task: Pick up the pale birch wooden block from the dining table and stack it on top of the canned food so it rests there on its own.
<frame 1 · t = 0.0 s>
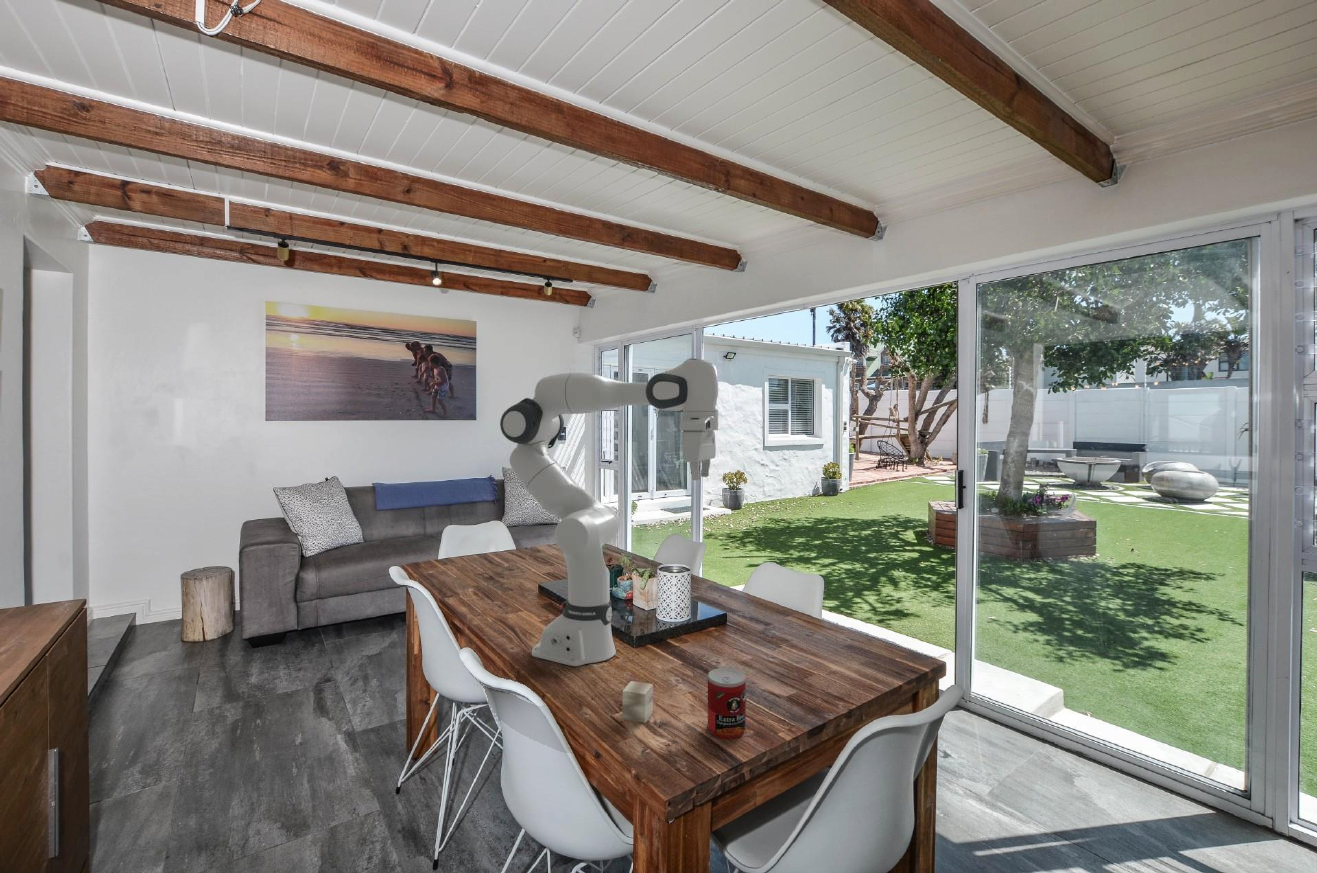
hand: (700, 478, 149), 48 cm above the table, tool pointing down, fingers open, 8 cm apart
canned food: (726, 730, 120), on the table
birch block: (638, 715, 126), on the table
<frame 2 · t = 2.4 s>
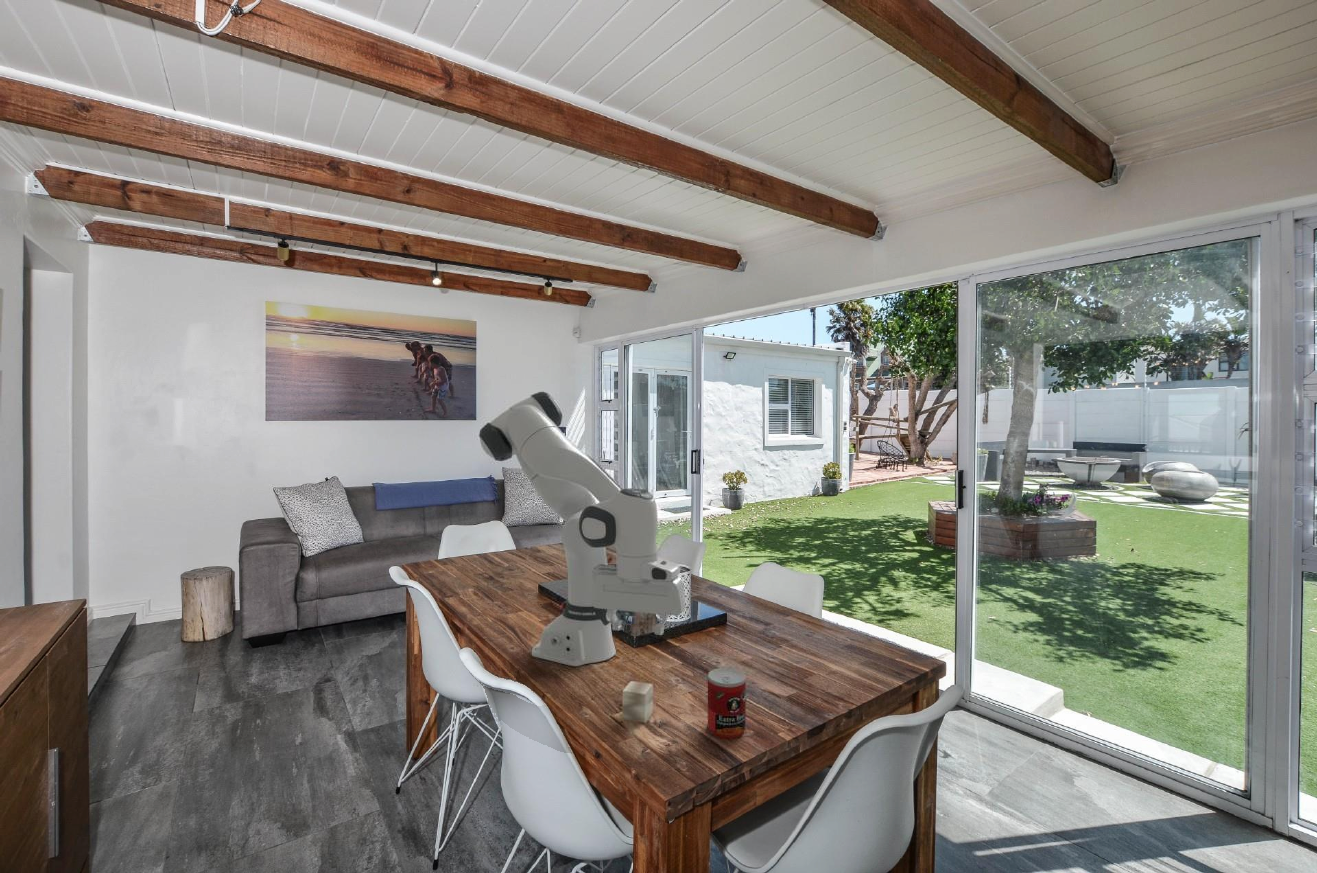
hand: (637, 631, 125), 18 cm above the table, tool pointing down, fingers open, 8 cm apart
nothing on the table moved.
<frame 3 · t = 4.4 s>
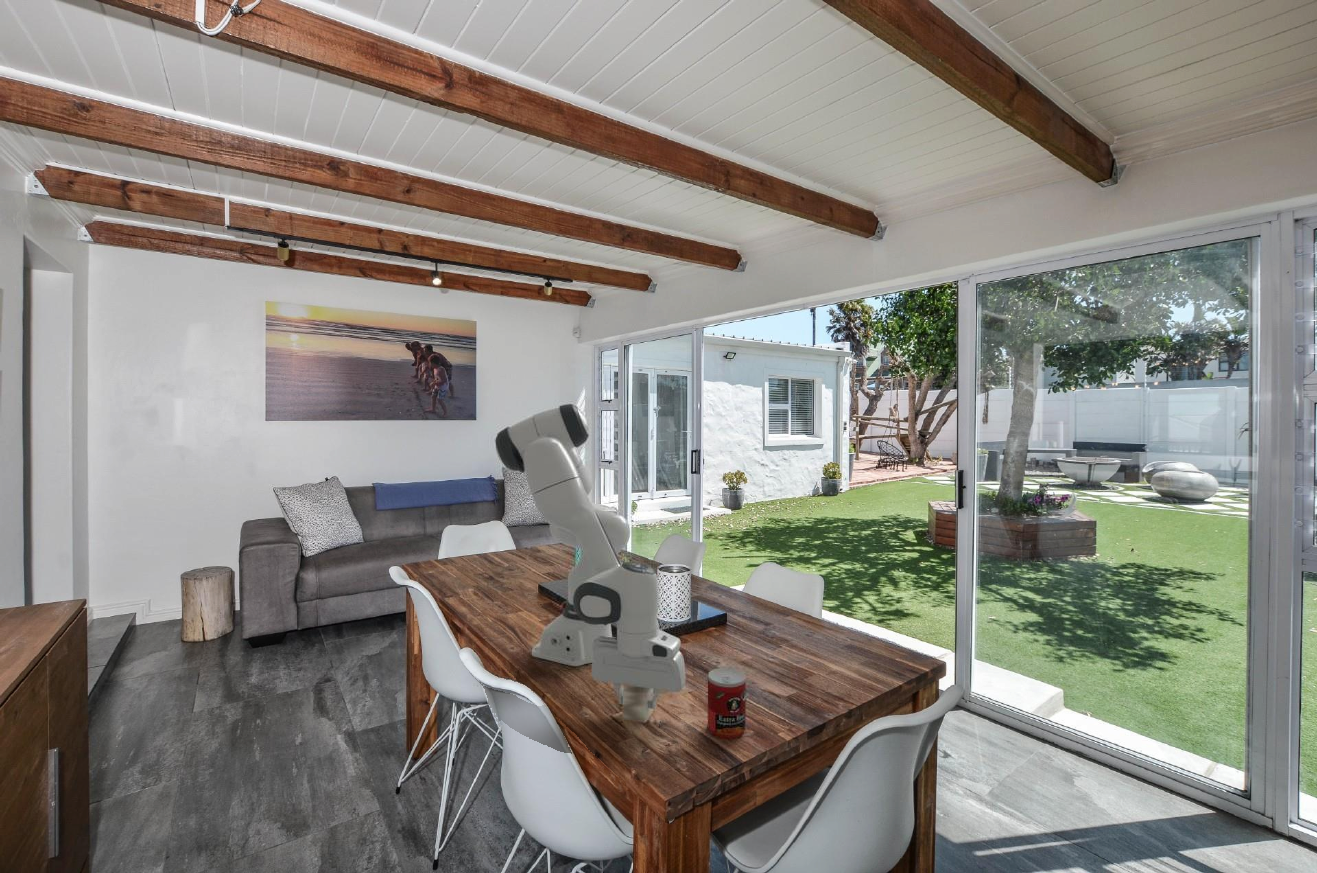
hand: (637, 705, 126), 2 cm above the table, tool pointing down, fingers closed on birch block, 5 cm apart
birch block: (638, 715, 126), on the table, touching gripper
everything else where it was.
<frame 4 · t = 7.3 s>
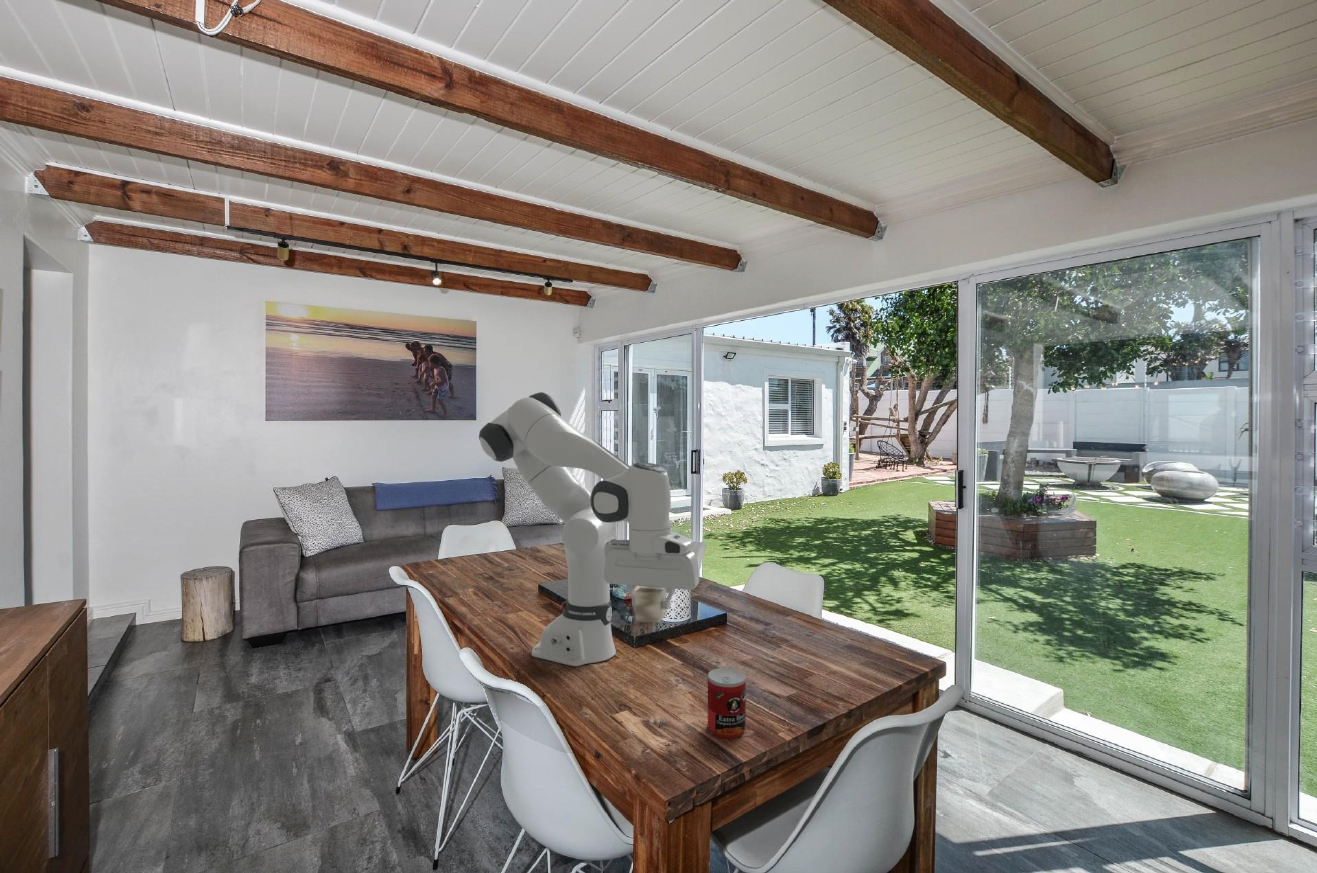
hand: (651, 607, 124), 23 cm above the table, tool pointing down, fingers closed on birch block, 5 cm apart
birch block: (651, 617, 124), point 21 cm above the table, touching gripper
everything else where it was.
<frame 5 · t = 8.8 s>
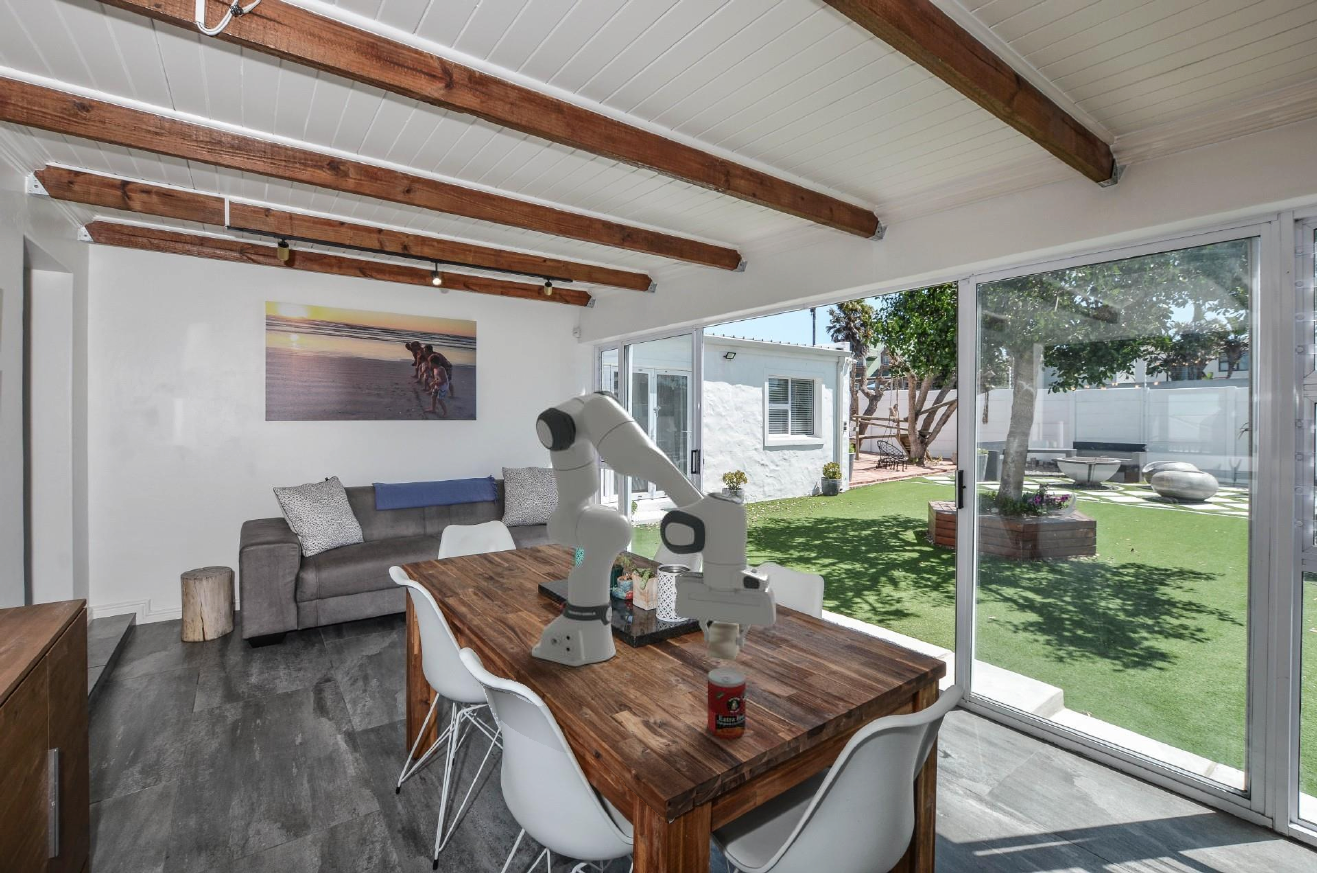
hand: (724, 643, 119), 18 cm above the table, tool pointing down, fingers closed on birch block, 5 cm apart
birch block: (724, 654, 119), point 15 cm above the table, touching gripper
everything else where it was.
when the fingers open (15 cm above the table, at t = 9.8 s): birch block drops 1 cm, resting on canned food.
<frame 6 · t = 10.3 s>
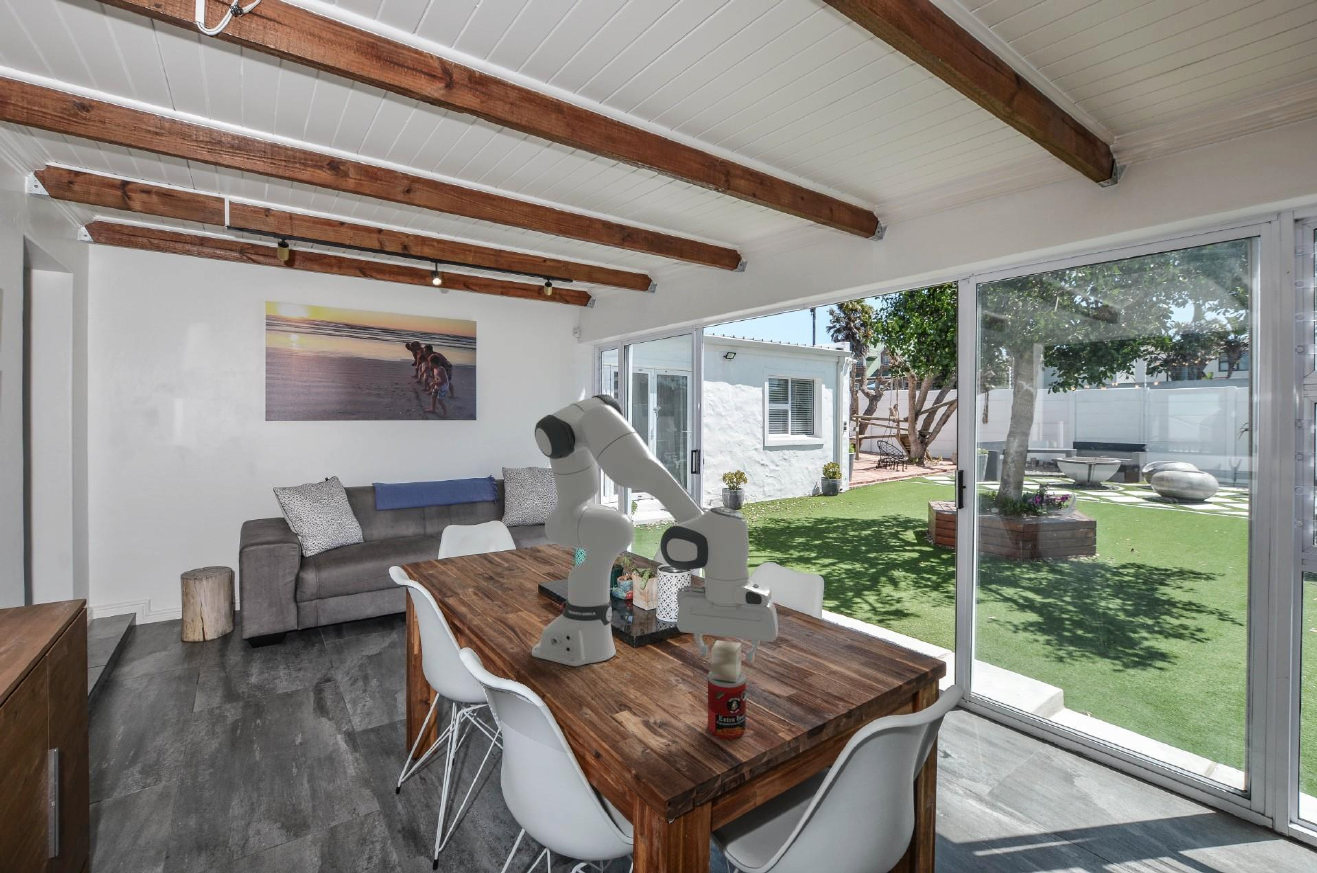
hand: (726, 657, 120), 15 cm above the table, tool pointing down, fingers open, 8 cm apart
canned food: (726, 730, 120), on the table, touching birch block
birch block: (726, 675, 120), point 11 cm above the table, touching canned food
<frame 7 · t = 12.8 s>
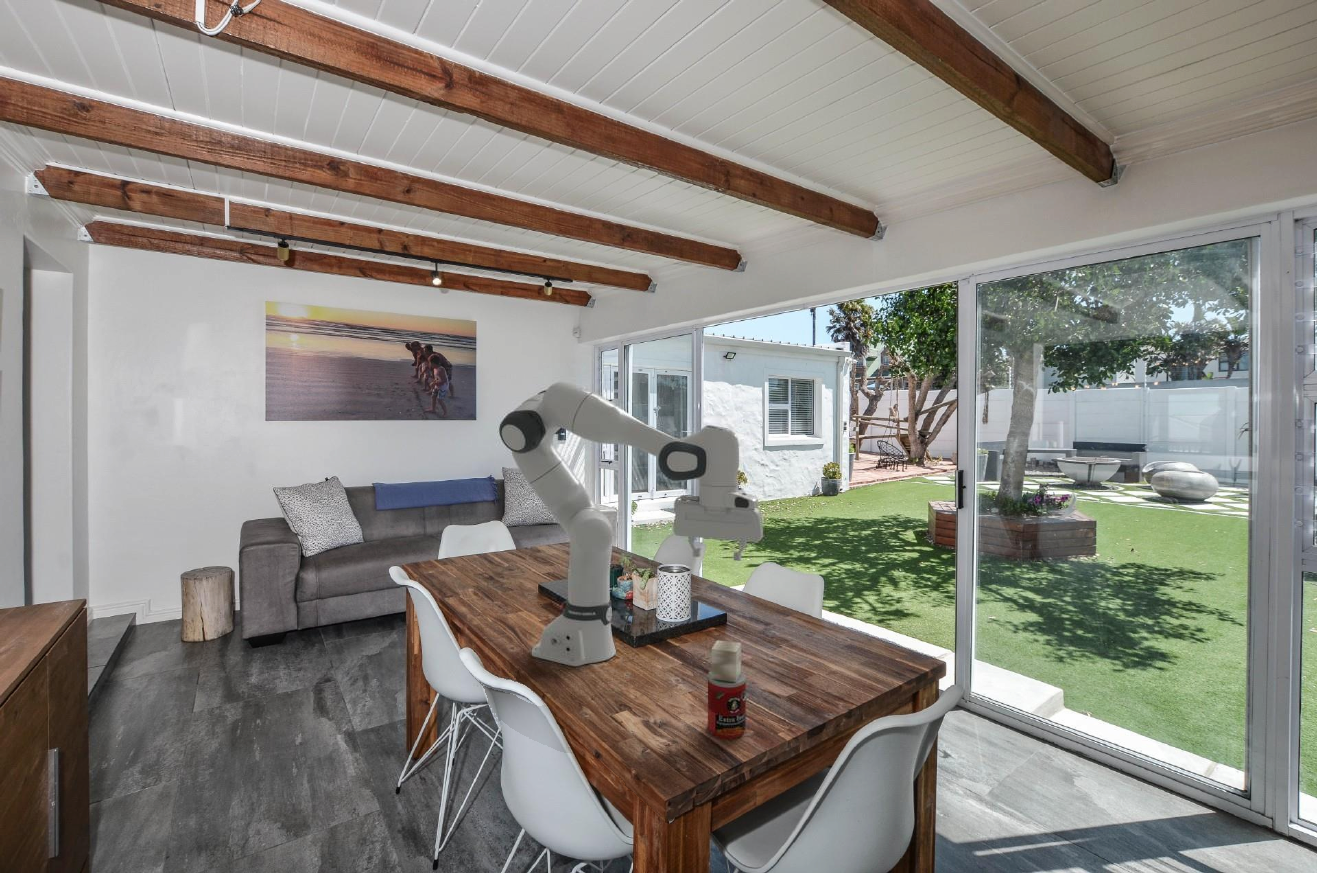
hand: (716, 558, 135), 31 cm above the table, tool pointing down, fingers open, 8 cm apart
nothing on the table moved.
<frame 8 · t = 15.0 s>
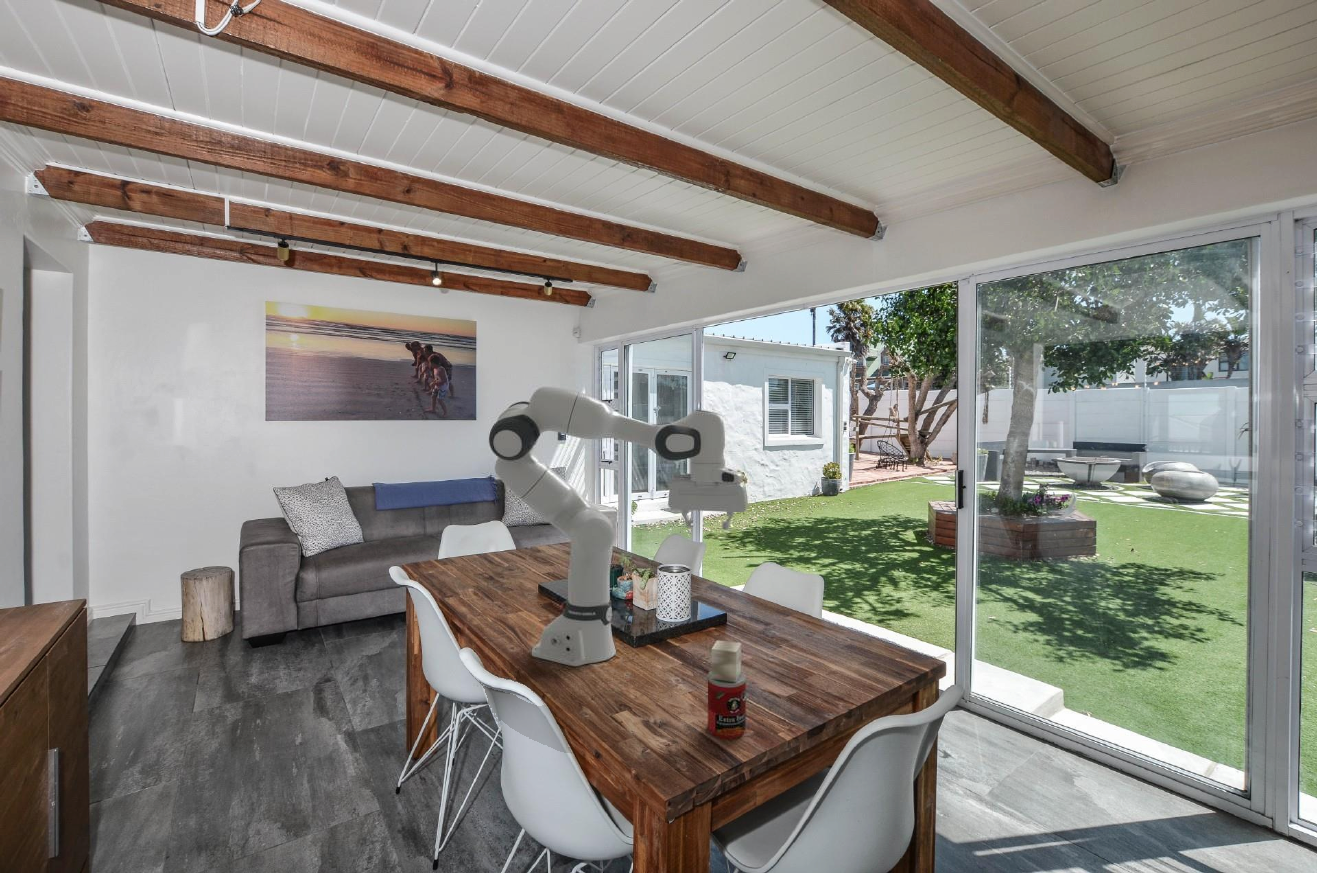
hand: (707, 528, 151), 35 cm above the table, tool pointing down, fingers open, 8 cm apart
nothing on the table moved.
at the end: birch block 0.1 cm off-centre on the canned food, point 11.2 cm above the canned food's base; birch block touching canned food; the gripper is holding nothing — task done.
